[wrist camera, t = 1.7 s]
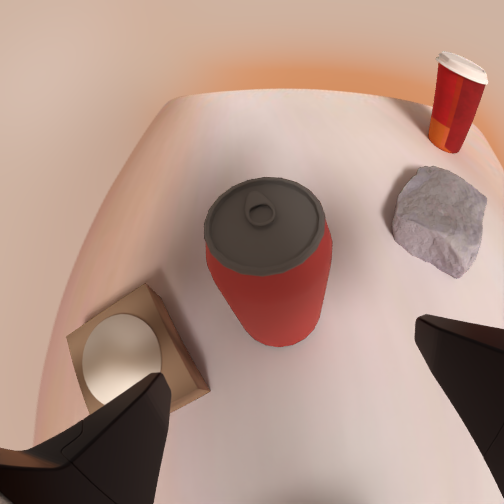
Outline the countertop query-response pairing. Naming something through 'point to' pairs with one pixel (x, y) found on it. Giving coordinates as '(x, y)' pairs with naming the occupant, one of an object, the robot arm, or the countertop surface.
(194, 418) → the countertop surface
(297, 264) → the beer can
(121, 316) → the walnut pedestal
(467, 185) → the stone block
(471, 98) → the paper cup
